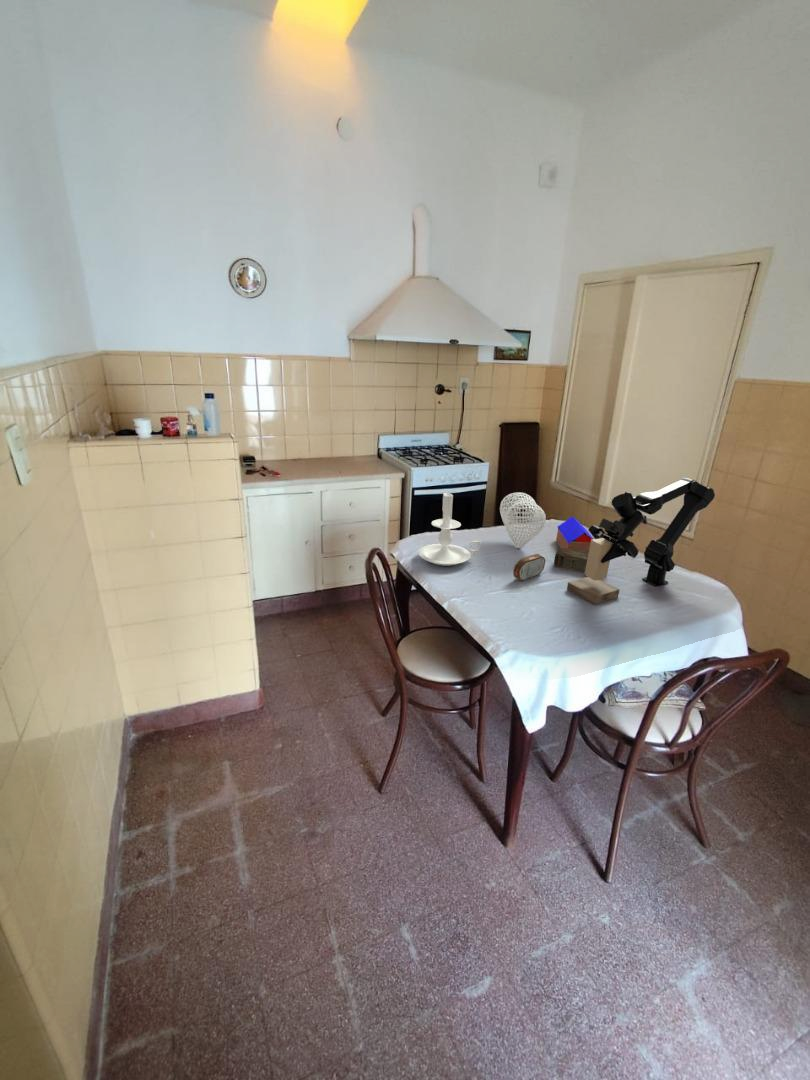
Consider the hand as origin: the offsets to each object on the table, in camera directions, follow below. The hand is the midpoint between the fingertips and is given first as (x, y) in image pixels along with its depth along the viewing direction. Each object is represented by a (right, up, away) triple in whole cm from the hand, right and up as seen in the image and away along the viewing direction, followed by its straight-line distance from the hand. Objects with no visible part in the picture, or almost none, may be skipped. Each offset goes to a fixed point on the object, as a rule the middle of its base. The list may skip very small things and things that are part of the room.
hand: (595, 559), depth 166 cm
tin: (-19, -8, +16) cm, 26 cm away
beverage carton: (+4, -5, +25) cm, 26 cm away
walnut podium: (+1, -12, +5) cm, 13 cm away
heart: (-16, +3, +43) cm, 46 cm away
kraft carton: (+1, -6, +3) cm, 7 cm away
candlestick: (-47, -2, +29) cm, 55 cm away
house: (+8, +2, +44) cm, 44 cm away
